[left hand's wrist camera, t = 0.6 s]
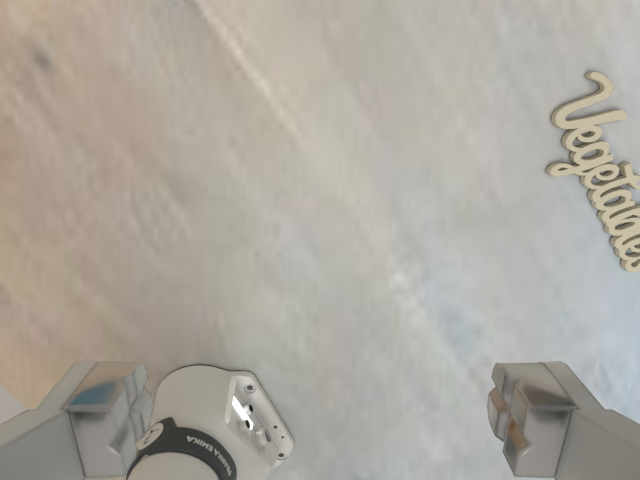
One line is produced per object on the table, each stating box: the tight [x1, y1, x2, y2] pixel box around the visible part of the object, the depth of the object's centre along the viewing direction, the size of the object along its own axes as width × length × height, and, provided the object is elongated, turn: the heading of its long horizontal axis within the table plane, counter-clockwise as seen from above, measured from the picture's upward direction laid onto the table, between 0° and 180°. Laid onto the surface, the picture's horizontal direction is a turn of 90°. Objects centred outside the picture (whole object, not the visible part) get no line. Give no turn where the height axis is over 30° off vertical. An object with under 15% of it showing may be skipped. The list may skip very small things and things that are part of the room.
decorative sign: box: [546, 72, 640, 273], centre depth 54 cm, size 26×1×10 cm
